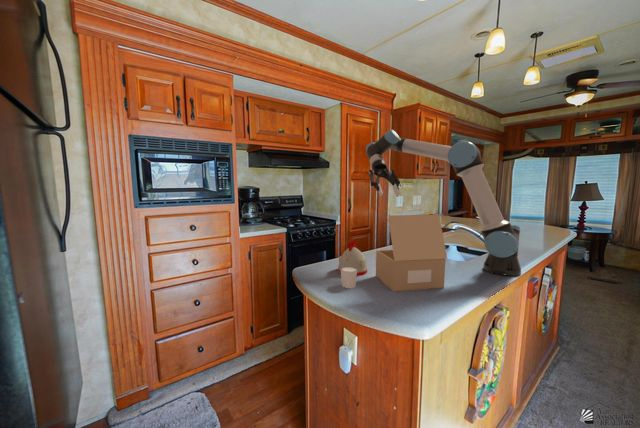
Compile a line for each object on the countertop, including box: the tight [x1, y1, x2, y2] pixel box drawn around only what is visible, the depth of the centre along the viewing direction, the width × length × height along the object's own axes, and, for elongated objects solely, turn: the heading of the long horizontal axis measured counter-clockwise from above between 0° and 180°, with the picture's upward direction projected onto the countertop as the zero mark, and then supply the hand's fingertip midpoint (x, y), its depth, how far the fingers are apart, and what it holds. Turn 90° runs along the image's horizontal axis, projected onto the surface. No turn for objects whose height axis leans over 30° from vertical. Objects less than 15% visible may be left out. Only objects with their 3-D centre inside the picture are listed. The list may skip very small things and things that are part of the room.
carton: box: [375, 249, 446, 293], centre depth 113 cm, size 18×22×12 cm
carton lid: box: [387, 214, 448, 261], centre depth 106 cm, size 18×22×1 cm
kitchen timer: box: [337, 240, 368, 277], centre depth 127 cm, size 14×14×15 cm
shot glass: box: [340, 267, 358, 289], centre depth 109 cm, size 7×7×7 cm
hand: (389, 194), depth 130 cm, fingers open, 8 cm apart
